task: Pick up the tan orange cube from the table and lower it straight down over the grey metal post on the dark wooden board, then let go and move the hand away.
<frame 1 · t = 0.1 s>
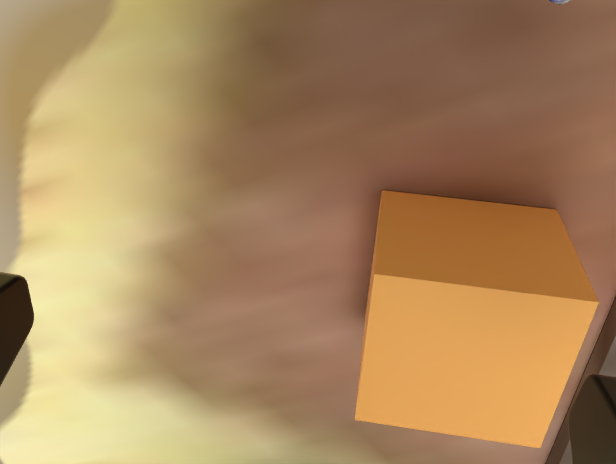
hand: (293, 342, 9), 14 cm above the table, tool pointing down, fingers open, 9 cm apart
tan orange cube: (452, 269, 25), on the table
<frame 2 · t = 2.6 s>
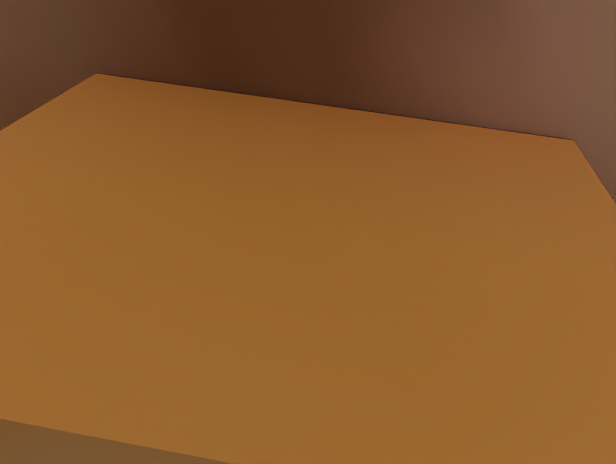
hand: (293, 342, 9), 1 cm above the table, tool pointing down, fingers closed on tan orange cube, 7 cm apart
tan orange cube: (305, 295, 10), on the table, touching gripper
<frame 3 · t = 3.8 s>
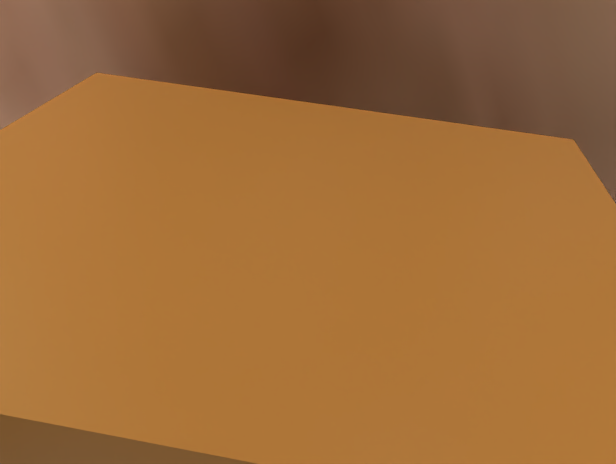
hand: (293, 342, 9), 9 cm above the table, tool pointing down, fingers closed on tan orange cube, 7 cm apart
tan orange cube: (305, 294, 10), point 8 cm above the table, touching gripper
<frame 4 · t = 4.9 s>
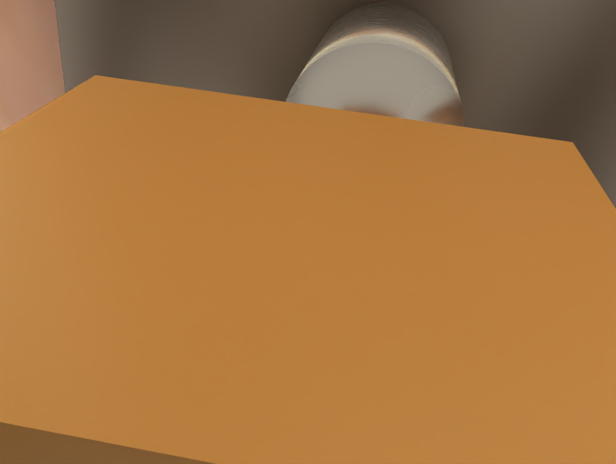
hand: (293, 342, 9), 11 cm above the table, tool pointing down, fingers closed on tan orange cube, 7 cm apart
tan orange cube: (304, 296, 10), point 10 cm above the table, touching gripper
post: (381, 74, 17), resting on board
board: (382, 64, 18), on the table
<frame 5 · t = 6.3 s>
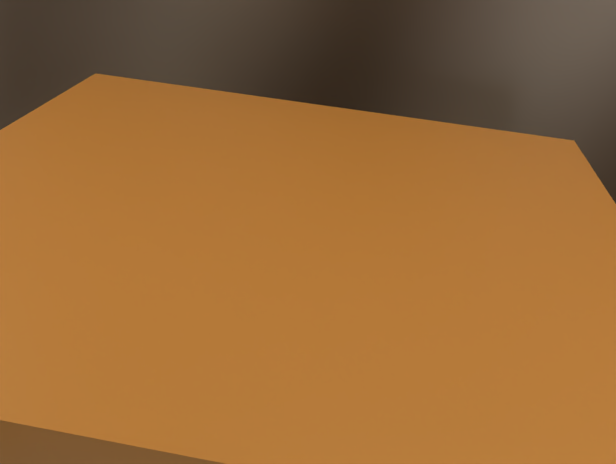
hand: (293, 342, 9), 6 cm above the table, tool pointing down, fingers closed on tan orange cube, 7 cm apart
tan orange cube: (305, 296, 10), point 4 cm above the table, touching gripper
board: (331, 185, 14), on the table
when the fingers open (3 cm above the table, at t = 7.4 s): tan orange cube stays where it is, resting on board.
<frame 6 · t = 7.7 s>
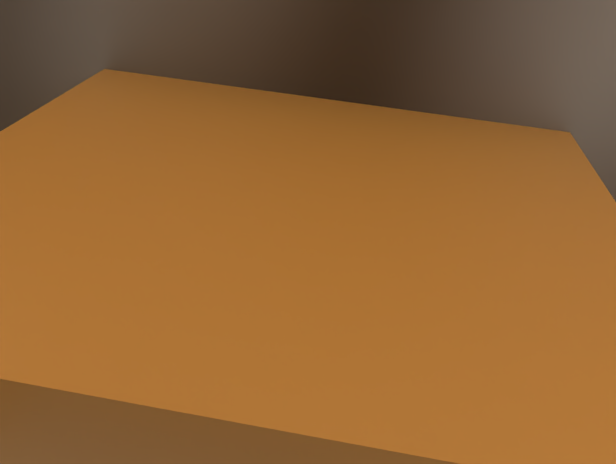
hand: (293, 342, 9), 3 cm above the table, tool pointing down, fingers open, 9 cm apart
tan orange cube: (308, 286, 10), point 1 cm above the table, touching board
board: (316, 249, 11), on the table
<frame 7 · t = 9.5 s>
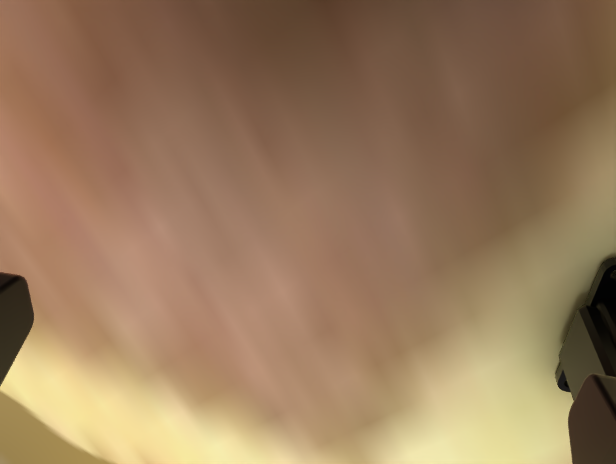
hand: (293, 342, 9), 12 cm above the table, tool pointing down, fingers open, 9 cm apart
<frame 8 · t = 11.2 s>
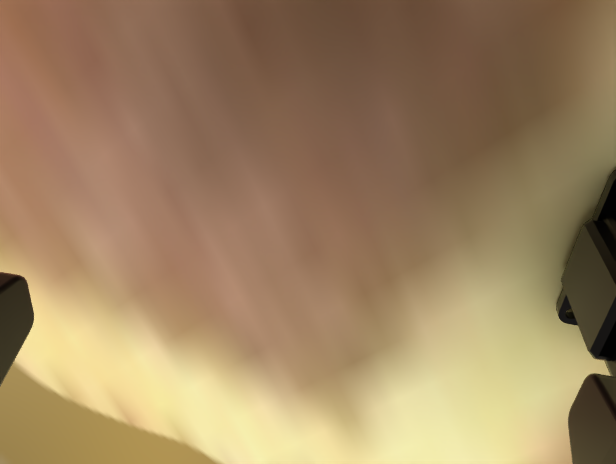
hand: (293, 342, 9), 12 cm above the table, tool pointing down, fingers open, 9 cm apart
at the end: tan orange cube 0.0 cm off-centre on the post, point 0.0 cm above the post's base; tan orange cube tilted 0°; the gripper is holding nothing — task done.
